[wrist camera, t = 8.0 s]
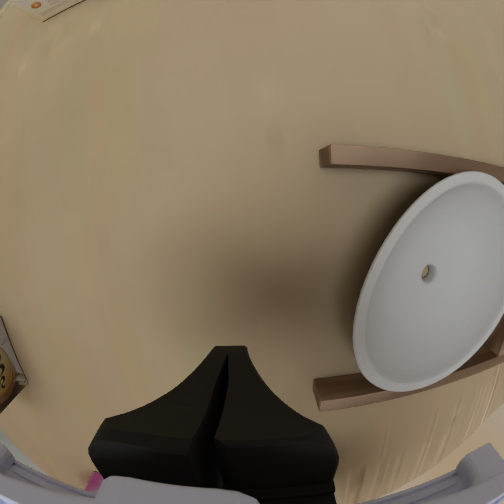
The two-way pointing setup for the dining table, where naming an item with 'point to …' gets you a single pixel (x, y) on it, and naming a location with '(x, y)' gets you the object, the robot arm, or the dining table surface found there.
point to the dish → (433, 285)
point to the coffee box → (9, 371)
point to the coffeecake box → (44, 7)
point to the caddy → (365, 157)
